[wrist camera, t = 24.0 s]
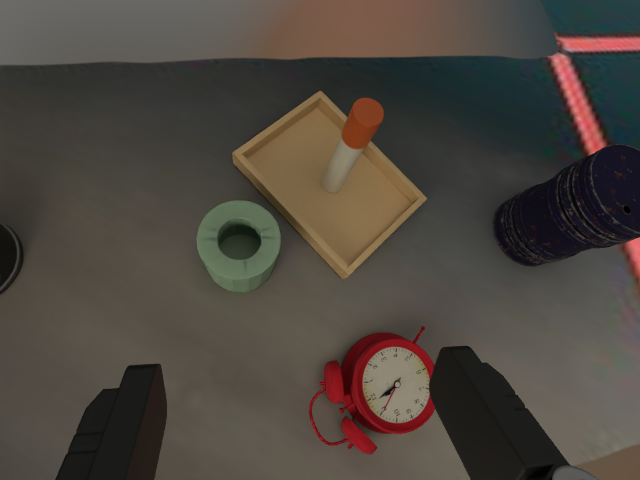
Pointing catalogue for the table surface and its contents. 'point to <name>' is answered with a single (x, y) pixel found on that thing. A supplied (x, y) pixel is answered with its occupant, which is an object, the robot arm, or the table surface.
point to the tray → (312, 200)
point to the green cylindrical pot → (239, 245)
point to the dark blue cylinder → (574, 209)
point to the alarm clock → (380, 388)
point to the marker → (352, 142)
